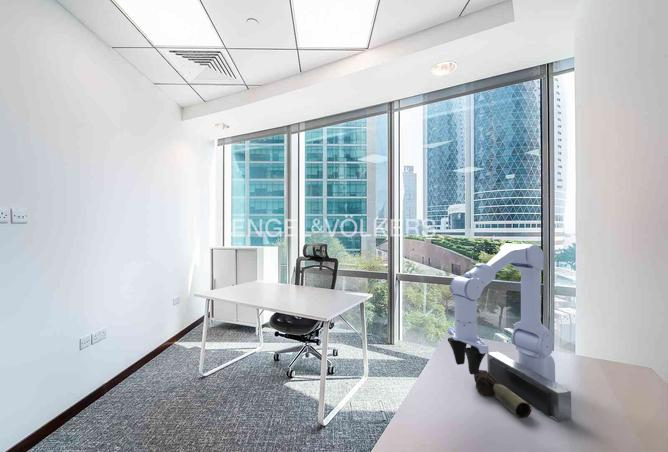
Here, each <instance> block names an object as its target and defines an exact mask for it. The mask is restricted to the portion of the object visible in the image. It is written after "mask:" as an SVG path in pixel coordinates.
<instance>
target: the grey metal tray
mask: <svg viewBox="0 0 668 452" xmlns="http://www.w3.org/2000/svg"><path fill="white" fill-rule="evenodd" d="M486 354H487V355H486V356H487V358H486V359H487V362H486V363H487V372H489V373H491V375H492V376H493V377H494V378H495V379H496V380H497V381H498V382H499V383H501V384H502V385H504V386H505V387H506V388H508V389H509V390H510V391H512V392H513V393H514V394H516V395H517V396H519V397H520V398H521V399H523V400H524V401H526V402H527V403H528V404H529V405H530V406H531V407H533V408H534V409H536V410H537V411H538V412H540V413H541V414H543V415H545V416H547V417H549V418H550V417H551V418H553V419H554V420H556V421H558V422H563V421H568V420H572V419H573V418H572V417H573V416H572V411H573V410H572V391H571V390H569V389H568V388H566V387H564V386H562V385H560V384H559V383H558V382H557V383H558V384H557V383H555V382H556V381H555V382H553V381H551V380H549V379H547V378H546V377H544V376H542V375H540V374H538V373H536V372H534V371H533V370H531V369H529V368H527V367H525V366H523V365H521V364H520V363H519V361H516V360H514V359H512V358H510V357H508V356H507V355H504V354H503V353H501V352H499V351H491V352H488V353H486Z"/></svg>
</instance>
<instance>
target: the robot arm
mask: <svg viewBox="0 0 668 452" xmlns="http://www.w3.org/2000/svg"><path fill="white" fill-rule="evenodd" d="M498 250H499V251H498V252H497V253H496V255H494V256H493V257H492V258H491V259H490V260H489V261H488V262H486V263H484V262H483V263H482V262H481V263H479V262H478V263H475V265H474V266H475V267H473V268H472V269H470V270H469V271H467V272H465V273H464V274H463V275H462V276H456V277H454V278H453V279H452V280H451V282H450V284H449V285H450V286H449V287H448V288H449V292H450V293H451V295H452V301H453V302H454V326H449V327H447V335H450V336H451V337H448V338H447V342H448V343H449V346H450V347H451V349H452V352H453V353H452V354H453V356H454V359H455V363H456V365H464V364H465V362H466V361H465V360H466V358H467V364H468V365H467V366H468V373H469V374H470V375H472V376H474V374H478V371H479V370H480V367H481V365H482V364H481V363H482V361H483V359H484V357H485V356H486V354H487V353H489V345H488V344H486V343H485V342H484V341H483V340H482V339H481V338H480V337H479V336H478V306H477V305H478V304H477V303H478V302H477V301H478V299H479V298H480V297H481V295H482V292H483V291H484V289H485V287H486V286H488V285H489V284H490V283H491V282H493V281H494V280H495V279H496V275H497V273H498V272H499V271H501V270H502V269H504V268H506V267H507V266H509V265H510V266H512V267H514V268H516V270H518V271H519V272H520V320H519V321H516V322H515V323H514V324H513V329H512V333H511V342H512V344H513V345H514V346H515V350H517V351H518V353H517V354H518V363H520V364H521V365H523V366H525V367H527V368H529V369H531V370H533V371H534V372H536V373H538V374H540V375H542V376H544V377H546V378H547V379H549V380H551V381H553V382H555V383H557V384H559V383H558V381H556V364H555V360H554V357H553V356H552V355H551V354H552V353H553V350H554V342H553V340H552V332H551V331H550V330H549V329H548V328H547V327H546V326H545V325H544V324H543V323H542V321H541V320H542V319H541V318H542V311H541V310H542V309H541V307H542V305H541V303H542V299H541V298H542V296H541V295H542V294H541V293H542V290H541V289H542V287H541V286H542V285H541V284H542V279H541V277H542V275H541V273H542V271H544V251H543V250H542V249H541V247H540V246H539V245H538V244H535V243H533V244H525V243H524V244H523V243H522V244H521V243H509V242H508V243H505V244H502V246H499V249H498ZM467 345H469V346H470V347H467Z"/></svg>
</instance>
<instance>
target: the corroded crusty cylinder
mask: <svg viewBox="0 0 668 452" xmlns="http://www.w3.org/2000/svg"><path fill="white" fill-rule="evenodd" d="M473 377H474V382H475V386H476V387H475V388H476V390H477V392H478V393H479V394H480V395H482V396H483V397H487V398H488V397H489V398H496V399H497V400H498V401H499V402H500V403H502V404H503V405H504V407H506V408H508V410H510V411H511V412H512V413H513V414H514V415H516V416H517V417H518V418H520V419H524V418H526V419H527V418H529V417H530V415H531V413H532V406H531V405H530V404H528V403H527V402H526V401H524V400H523V399H521V398H520V397H519V396H517V395H516V394H514V393H513V392H512V391H510V390H509V389H508V388H506V387H505V386H504V385H502V384H501V383H499V382H498V381H497V380H496V379H495V378H494V377H493V376H492V375H491V373H489V372H488V370H485V369H484V370H483V369H479V371H478V374H473Z"/></svg>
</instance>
